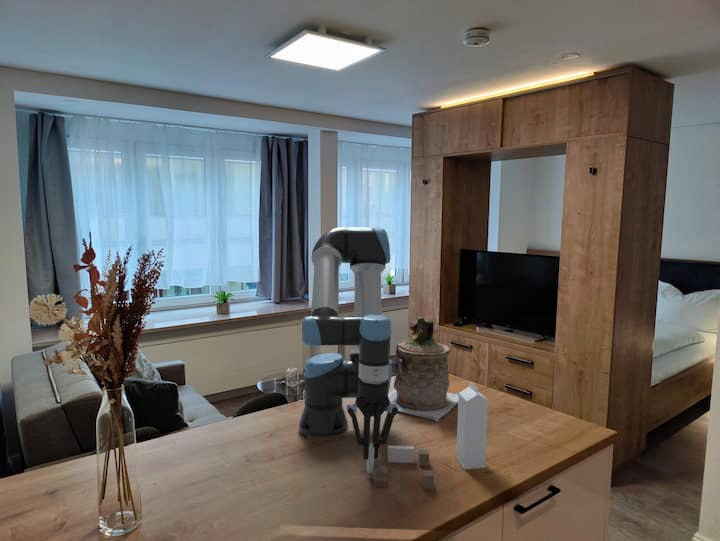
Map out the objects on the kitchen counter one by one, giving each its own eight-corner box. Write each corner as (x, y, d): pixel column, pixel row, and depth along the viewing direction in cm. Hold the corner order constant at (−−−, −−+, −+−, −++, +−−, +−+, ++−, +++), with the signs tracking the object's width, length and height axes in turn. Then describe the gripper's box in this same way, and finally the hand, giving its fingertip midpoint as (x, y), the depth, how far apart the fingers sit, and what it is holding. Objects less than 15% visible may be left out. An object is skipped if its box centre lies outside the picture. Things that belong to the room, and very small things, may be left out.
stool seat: (363, 494, 116) (363, 474, 115) (365, 462, 131) (365, 444, 130) (435, 497, 115) (435, 476, 114) (428, 464, 130) (429, 446, 129)
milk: (476, 457, 134) (480, 380, 132) (485, 468, 129) (489, 388, 126) (455, 458, 134) (458, 381, 131) (463, 470, 128) (467, 389, 125)
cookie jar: (465, 399, 176) (468, 313, 172) (438, 424, 155) (442, 326, 152) (404, 386, 189) (406, 305, 185) (372, 407, 168) (374, 317, 165)
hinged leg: (368, 462, 128) (368, 449, 127) (379, 462, 128) (379, 448, 128) (375, 487, 116) (375, 472, 116) (387, 486, 117) (388, 472, 116)
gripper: (349, 384, 114) (346, 479, 116) (402, 384, 116) (398, 477, 118) (345, 374, 121) (342, 463, 124) (395, 373, 123) (391, 462, 126)
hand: (369, 470), depth 121 cm, fingers closed
